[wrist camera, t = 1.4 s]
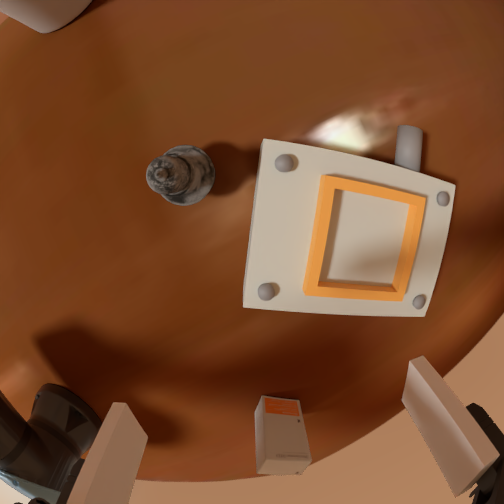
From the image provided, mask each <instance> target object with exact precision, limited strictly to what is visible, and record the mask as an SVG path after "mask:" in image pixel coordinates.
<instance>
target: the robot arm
mask: <svg viewBox="0 0 504 504" xmlns="http://www.w3.org/2000/svg"><path fill="white" fill-rule="evenodd" d="M401 401H402V402H403V404H404V406H405V407H406V409H407V410H408V412H409V414H410V416H411V417H412V419H413V421H414V423H415V424H416V426H417V428H418V429H419V431H420V433H421V435H422V436H423V438H424V440H425V442H426V444H427V445H428V447H429V449H430V451H431V452H432V454H433V456H434V458H435V460H436V462H437V463H438V465H439V467H440V469H441V471H442V473H443V475H444V477H445V479H446V481H447V482H448V484H449V486H450V488H451V490H452V492H453V494H454V496H455V497H457V496H459V495H460V494H462V493H464V492H465V491H467V490H469V489H470V488H471V487H472V486H473V485H474V484H475V483H477V485H478V486H477V487H476V488H475V489H474V490H473V491H472V492H471V494H470V496H469V497H472V496H473V495H474V494H475V496H474V499H473V503H472V504H504V435H503V433H502V432H501V431H500V429H499V428H498V427H497V425H496V424H495V423H493V420H492V419H491V418H490V417H489V415H488V414H487V413H486V411H485V410H484V409H483V408H482V407H480V406H479V405H477V404H475V403H472V404H470V405H468V406H467V407H465V406H464V405H463V404H462V402H461V401H460V400H459V399H458V397H457V396H456V395H455V394H454V392H453V391H452V390H451V389H450V387H449V386H448V385H447V384H446V382H445V381H444V380H443V379H442V377H441V376H440V375H439V374H438V373H437V371H436V370H435V369H434V368H433V367H432V365H431V364H430V363H429V362H428V361H427V359H426V358H425V357H424V356H421V357H418V358H415V359H412V360H410V361H409V367H408V372H407V377H406V382H405V387H404V391H403V395H402V400H401ZM147 440H148V436H147V435H146V433H145V432H144V430H143V429H142V427H141V426H140V424H139V423H138V421H137V420H136V418H135V416H134V415H133V413H132V412H131V410H130V408H129V407H128V405H127V403H119V402H113V404H112V406H111V408H110V410H109V412H108V414H107V416H106V418H105V420H104V422H103V424H102V423H101V421H100V419H99V418H98V416H97V415H96V414H95V412H94V411H93V410H92V409H91V408H90V407H89V406H88V405H87V404H86V403H85V402H84V401H82V400H81V399H80V398H79V397H77V396H76V395H74V394H73V393H71V392H70V391H68V390H66V389H64V388H62V387H60V386H57V385H53V384H45V385H43V386H42V387H41V388H40V389H39V391H38V392H37V394H36V397H35V401H34V404H33V408H32V412H31V417H30V419H29V420H28V421H27V422H26V421H25V420H24V419H23V417H22V416H21V415H20V414H19V413H18V412H17V411H16V409H15V408H14V407H13V406H12V405H11V403H10V402H9V401H8V400H7V398H6V397H5V396H4V394H3V393H2V392H1V390H0V479H2V480H3V481H4V482H5V483H7V484H8V485H9V486H11V487H12V488H14V489H15V490H17V491H18V492H20V493H21V494H23V495H25V496H26V497H28V498H30V499H31V501H30V502H29V503H28V504H128V502H129V499H130V496H131V492H132V489H133V485H134V482H135V479H136V475H137V472H138V469H139V465H140V462H141V459H142V456H143V452H144V449H145V446H146V443H147ZM90 448H91V449H90ZM89 449H90V451H89V453H88V455H87V457H86V460H85V459H81V456H82V455H83V454H84V453H85V452H86V451H87V450H89ZM14 504H22V503H19V502H18V503H14Z"/></svg>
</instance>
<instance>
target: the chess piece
mask: <svg viewBox="0 0 504 504" xmlns="http://www.w3.org/2000/svg"><path fill="white" fill-rule="evenodd" d="M146 178H147V182H148V185H149V186H150V188H151V189H152V190H154V191H155V192H157V193H159V194H161V195H162V196H163V197H164V198H165V199H166V200H167V201H169V202H171V203H173V204H175V205H181V206H185V205H192V204H194V203H197V202H199V201H200V200H202V199H203V198H204V197H205V196H206V195H207V194H208V193H209V191H210V189H211V188H212V186H213V184H214V180H215V169H214V166H213V163H212V161H211V159H210V158H209V156H208V155H207V154H206V153H205V152H204V151H203V150H201V149H200V148H197V147H195V146H191V145H180V146H176V147H174V148H171V149H170V150H168V151H167V152H166V153H165V154H164V155H163V156H160V157H157V158H155V159H154V160H153V161H152V162H151V163H150V164H149V166H148V169H147V173H146Z"/></svg>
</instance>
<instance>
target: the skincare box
mask: <svg viewBox="0 0 504 504" xmlns="http://www.w3.org/2000/svg"><path fill="white" fill-rule="evenodd" d="M255 438H256V473H258V474H272V475H301V474H302V473H303V472H304V470H305V469H306V468H307V467H308V465H309V464H310V463H311V461H312V458H311V454H310V449H309V444H308V439H307V434H306V429H305V425H304V420H303V415H302V410H301V406H300V401H299V400H293V399H284V398H277V397H270V396H264V395H262V396H261V399H260V401H259V403H258V406H257V408H256V410H255Z"/></svg>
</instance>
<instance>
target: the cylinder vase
mask: <svg viewBox="0 0 504 504" xmlns="http://www.w3.org/2000/svg"><path fill="white" fill-rule="evenodd" d="M91 1H92V0H0V12H2V13H4V14H6V15H8V16H10V17H12V18H14V19H16V20H18V21H19V22H21V23H23V24H25V25H27V26H29V27H31V28H32V29H34V30H36V31H38V32H40V33H49V32H53V31H55V30H58V29H60V28H61V27H63V26H65V25H66V24H68V23H69V22H71V21H72V20H73V19H75V18H76V17H77V16H78V15H79V14H80V13H81V12H82V11H83V10H84V9H85V8H86V7H87V6H88V5H89V4H90V3H91Z"/></svg>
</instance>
